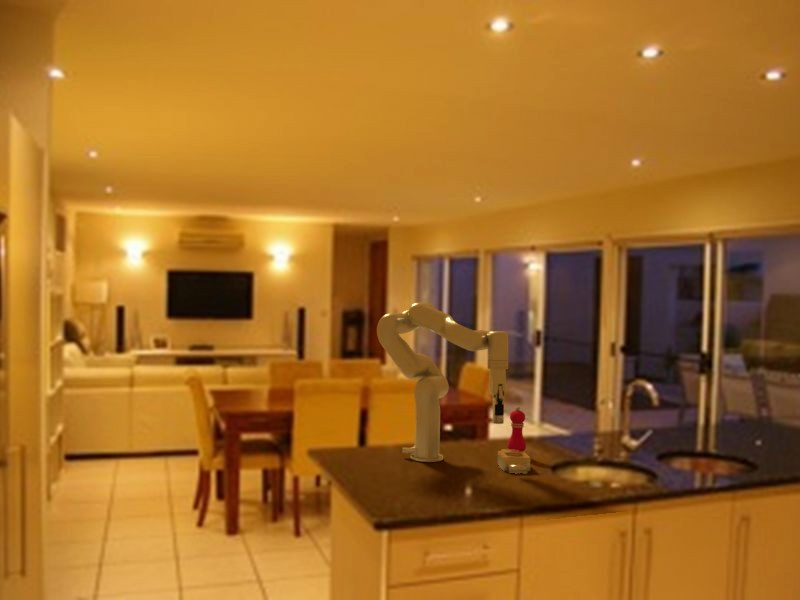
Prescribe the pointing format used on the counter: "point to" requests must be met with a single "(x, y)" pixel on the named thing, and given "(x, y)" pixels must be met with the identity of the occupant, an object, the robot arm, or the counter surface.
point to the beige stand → (514, 461)
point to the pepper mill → (517, 431)
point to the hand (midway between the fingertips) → (498, 413)
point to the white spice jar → (495, 418)
